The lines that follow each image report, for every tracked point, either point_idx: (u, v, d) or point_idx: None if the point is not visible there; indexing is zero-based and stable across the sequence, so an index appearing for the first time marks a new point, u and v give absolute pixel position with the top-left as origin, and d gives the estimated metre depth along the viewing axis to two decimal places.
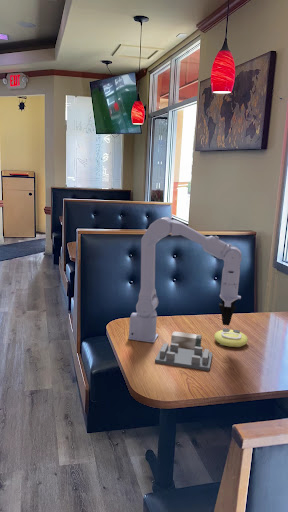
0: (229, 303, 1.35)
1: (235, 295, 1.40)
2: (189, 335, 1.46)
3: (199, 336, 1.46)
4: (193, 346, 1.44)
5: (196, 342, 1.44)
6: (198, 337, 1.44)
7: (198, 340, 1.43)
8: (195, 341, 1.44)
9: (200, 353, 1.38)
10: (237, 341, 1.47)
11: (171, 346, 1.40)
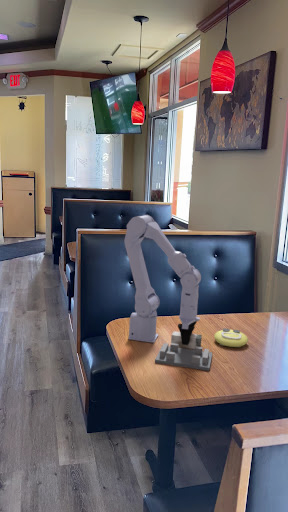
0: (187, 325, 1.38)
1: (193, 317, 1.43)
2: None
3: (199, 336, 1.46)
4: (193, 346, 1.44)
5: (196, 342, 1.44)
6: (198, 337, 1.44)
7: (198, 340, 1.43)
8: (195, 341, 1.44)
9: (200, 353, 1.38)
10: (237, 341, 1.47)
11: (171, 346, 1.40)
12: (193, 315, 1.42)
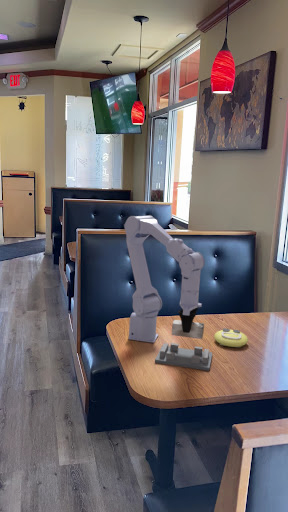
0: (188, 311, 1.30)
1: (195, 303, 1.34)
2: None
3: (201, 324, 1.37)
4: (195, 335, 1.36)
5: (199, 331, 1.36)
6: (200, 325, 1.36)
7: (201, 328, 1.35)
8: (197, 329, 1.36)
9: (200, 353, 1.38)
10: (237, 341, 1.47)
11: (171, 346, 1.40)
12: (194, 301, 1.34)
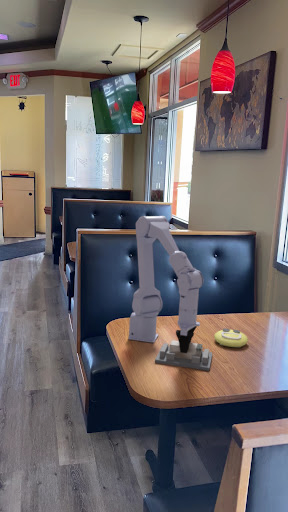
0: (185, 331, 1.27)
1: (193, 322, 1.31)
2: (189, 344, 1.35)
3: (200, 345, 1.35)
4: None
5: (197, 353, 1.33)
6: (198, 347, 1.33)
7: (198, 350, 1.32)
8: (195, 351, 1.33)
9: None
10: (237, 341, 1.47)
11: None
12: (192, 320, 1.31)
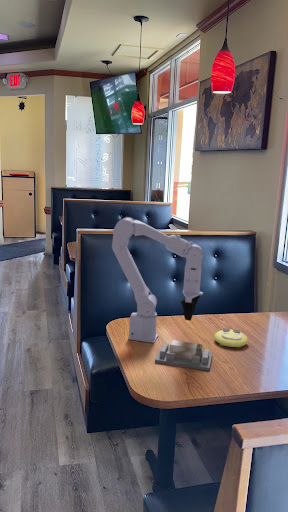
0: (190, 299, 1.40)
1: (197, 291, 1.45)
2: (189, 344, 1.35)
3: (200, 345, 1.35)
4: None
5: (197, 353, 1.33)
6: (198, 347, 1.33)
7: (198, 350, 1.32)
8: (195, 351, 1.33)
9: None
10: (237, 341, 1.47)
11: None
12: (196, 289, 1.45)
